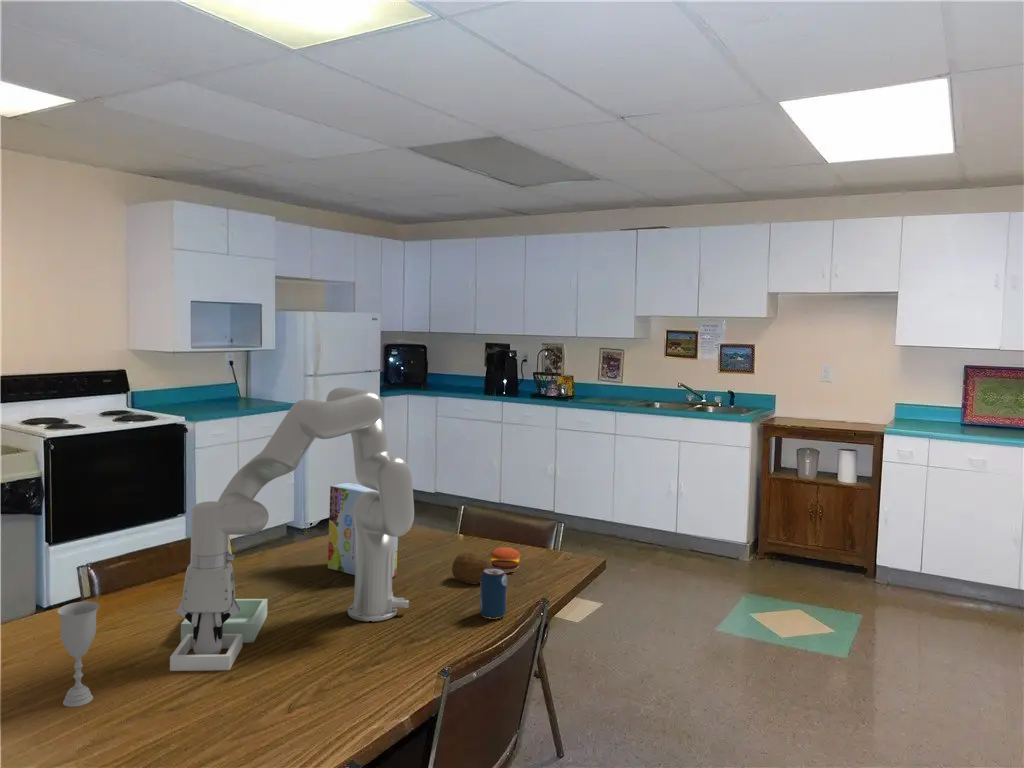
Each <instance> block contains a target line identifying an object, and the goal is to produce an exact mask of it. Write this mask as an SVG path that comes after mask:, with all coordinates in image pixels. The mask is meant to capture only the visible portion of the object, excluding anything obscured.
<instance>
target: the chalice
mask: <svg viewBox="0 0 1024 768" xmlns="http://www.w3.org/2000/svg"><path fill="white" fill-rule="evenodd" d="M99 608H100V604H99V603H98V602H97V601H96V602H95V601H91V600H90V601H87V600H86V601H78V602H72V603H68V604H65V605H63V606H61V607H60V608H59V609H57V614H58V615H59V617H60V639H61V641H62V644H63V646H64V648H65V650H66V651H67V653H68V654H69V656H70V657H72V658H75V663H74V665H73V668H74V670H75V672H74V674H73V676H72V677H73V678H74V680H75V683H74V685H73V686H72V687H70V688H69V689H68V691H67V692H66V695H65V697H64V700H63V701H62V705H63V706H65V707H69V708H70V707H71V708H72V707H73V708H74V707H81V706H84V705H86V704H88V703H90V702H92V701H93V699H94V695H92V692H91V690H90V687H88V686H87V685H85V684H83V683H82V677H84V673H83V672H82V668H83V667H84V666H83V665H84V664H83V662H82V657H83V656H85V655H86V654H87V653H88V651H89V650H90V647H91V645H92V643H93V640H94V639H95V635H96V633H97V612H98V610H99Z"/></svg>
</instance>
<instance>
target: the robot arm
mask: <svg viewBox="0 0 1024 768" xmlns="http://www.w3.org/2000/svg"><path fill="white" fill-rule="evenodd" d="M383 410H384V405H383V401H382V400H381V398H380V396H379V395H377V394H376V393H375V392H372V391H369V390H365V389H359V388H358V389H357V388H353V387H342V386H341V387H336V388H333V389H331V390H330V391H329V392H328V394H327V396H326V401H321V400H315V399H311V398H310V399H308V398H306V399H305V398H304V399H301V400H298V401H296V402H295V403H293V404H292V406H291V407H290V409H289V410H288V412H287V413H286V415H285V416H284V418H283V419H282V420H281V422H280V424H279V425H278V427H277V428H276V430H275V432H274V433H273V435H272V436H271V438H269V440H268V442H267V444H266V445H265V447H263V449H262V451H260V452H259V453H258V454H257V455H255V456H254V457H252V459H250V460H249V461H248V462H247V463H246V464H244V466H242V467H241V468H240V469H239V470H238V471H237V472H236V473H235V474H234V476H233V477H232V478H231V479H230V481H229V482H228V484H227V485H226V487H225V489H224V490H223V491H222V492H221V494H220V496H219V499H217V501H216V500H215V501H204V502H203V501H202V502H199V503H197V504H195V505H194V506H193V507H192V509H191V516H190V517H191V523H190V525H191V526H190V528H191V529H190V530H191V531H190V564H188V565H187V567H186V568H187V569H186V571H185V577H184V584H183V590H182V599H181V602H180V604H179V606H178V607H177V609H176V611H175V613H176V614H177V615H179V616H180V617H183V618H186V619H187V620H188V621H189V622H190V623H191V625H192V626H193V639H194V640H196V642H197V638H198V632H199V622H200V616H201V613H202V612H204V611H205V610H207V609H208V612H210V613H215V620H216V626H215V627H214V628H213V631H214V638H215V642H216V641H217V635H218V639H222V635H223V623H224V622H225V621H226V620H228V619H229V618H230V617H232V616H234V615H236V614H238V613H239V612H240V608H239V606H238V604H237V602H236V600H235V599H236V585H235V576H234V568H233V564H232V563H231V561H233V562H234V561H235V559H236V554H233V553H230V550H229V536H231V535H232V536H238V535H239V536H240V535H241V536H243V535H244V536H249V535H253V534H257V533H259V532H261V531H262V530H263V529H264V528H265V527H266V525H267V524H268V522H269V517H270V516H269V511H268V510H267V507H266V506H265V505H264V504H263V503H261V502H259V501H258V500H255V498H256V496H257V495H258V493H260V491H261V490H262V489H263V488H264V487H265V486H266V485H267V484H268V483H270V482H271V481H273V480H275V479H277V478H280V477H283V476H286V475H288V474H290V473H292V472H293V471H295V470H296V469H297V468H298V466H299V465H300V463H301V461H302V459H303V458H304V456H305V455H306V454H307V452H308V450H309V448H310V447H311V445H312V444H313V443H314V441H315V439H320V440H330V439H335V438H338V437H341V436H345V435H348V434H350V437H351V441H352V447H353V449H352V451H353V462H354V472H355V478H356V480H357V482H358V483H359V485H362V486H364V487H367V488H370V489H373V490H376V491H369V492H366V493H363V494H362V495H361V496H359V498H358V499H357V500H356V502H355V505H354V509H353V517H354V524H355V531H356V560H355V575H354V590H353V591H354V593H353V594H354V596H353V597H354V598H353V603H352V604H350V606H348V607H347V615H348V616H349V617H350V618H351V619H353V620H356V621H360V622H369V621H372V622H382V621H386V620H389V619H391V618H393V617H395V616H396V615H397V614H398V608H403V609H404V608H406V609H407V608H409V607H410V606H409V605H410V599H405V597H396V596H394V592H393V577H392V572H393V538H392V537H398V538H399V537H402V536H404V535H406V534H407V533H408V532H409V531H410V530H411V528H412V526H413V523H414V520H415V502H414V490H413V489H414V487H413V486H414V485H413V477H412V476H413V475H412V471H411V469H410V467H409V464H408V463H407V462H406V461H405V460H404V459H403V458H401V457H400V456H398V455H393V454H390V452H389V448H388V447H389V446H388V440H387V439H388V438H387V433H386V427H385V425H384V422H383V419H382V418H381V417H382V415H383ZM378 491H379V492H378ZM230 608H231V610H230ZM229 610H230V611H229ZM224 612H226V613H225V614H224ZM195 644H196V643H195Z"/></svg>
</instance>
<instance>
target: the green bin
mask: <svg viewBox="0 0 1024 768" xmlns="http://www.w3.org/2000/svg"><path fill="white" fill-rule="evenodd" d="M235 600H236V602H237V604H238V606H239V608H240V612H239V613H238V614H236V615H234V616H232V617H230V618H229V619H228V620H226V621H225V622H224V623H223V634H243V644H250V643H252V644H254V643H255V641H256V639H257V636H258V634H259V633H260V631H261V629H262V627H263V626H264V624H265V621H266V620H267V617H268V598H235ZM230 610H231V608H230ZM230 610H229V611H230ZM225 613H226V612H224V614H225ZM184 618H185V617H184ZM187 634H193V626H192V625H191V623H190V622H189V621H188V620H187V619H186V618H185V619H183V621H182V622H181V623H180V643H181V642H182V641H183V639H184V638H185V637H186V635H187Z"/></svg>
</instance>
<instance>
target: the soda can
mask: <svg viewBox="0 0 1024 768" xmlns="http://www.w3.org/2000/svg"><path fill="white" fill-rule="evenodd" d="M479 585H480V591H479V609H478V610H479V614H480V615H481V617H482V616H485V617H491V618H496V617H501V616H503V615H504V616H505V614H506V611H507V597H508V595H507V594H508V592H507V591H508V575H507V573H505V570H504V569H502V568H497V567H490V568H485V569H484V570H483V574H482V575H481V584H479ZM504 616H503V617H504Z"/></svg>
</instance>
